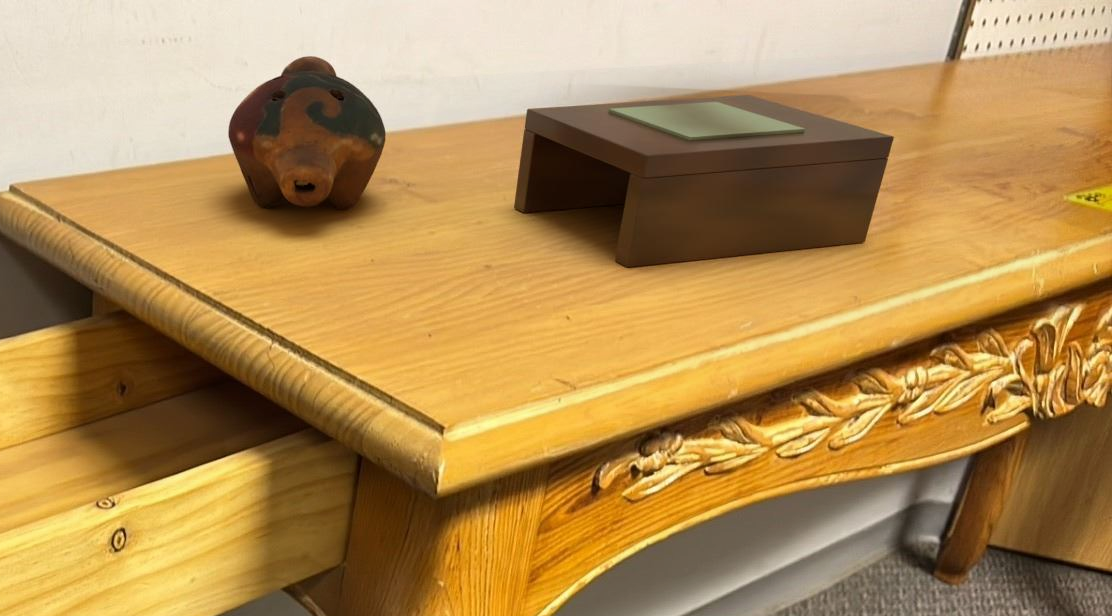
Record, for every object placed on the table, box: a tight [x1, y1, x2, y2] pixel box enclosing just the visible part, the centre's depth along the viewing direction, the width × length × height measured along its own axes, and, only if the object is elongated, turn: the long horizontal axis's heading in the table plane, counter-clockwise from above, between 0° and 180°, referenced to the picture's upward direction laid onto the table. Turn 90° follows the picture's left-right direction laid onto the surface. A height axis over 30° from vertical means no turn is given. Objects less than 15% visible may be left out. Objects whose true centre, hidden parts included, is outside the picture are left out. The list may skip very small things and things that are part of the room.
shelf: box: [513, 94, 895, 268], centre depth 71 cm, size 16×12×6 cm
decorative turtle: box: [227, 55, 387, 210], centre depth 75 cm, size 10×15×8 cm, turn 1°
